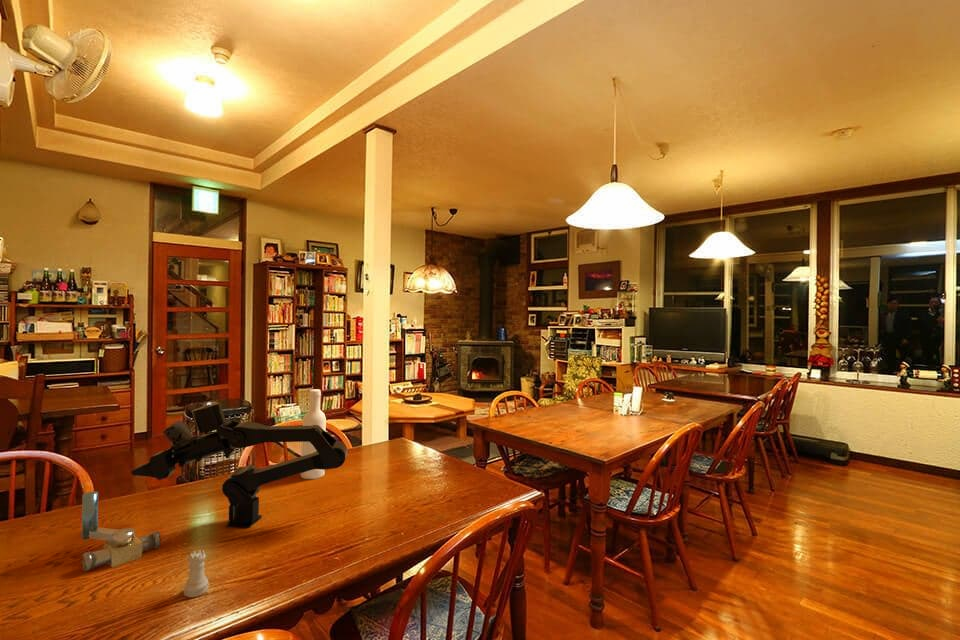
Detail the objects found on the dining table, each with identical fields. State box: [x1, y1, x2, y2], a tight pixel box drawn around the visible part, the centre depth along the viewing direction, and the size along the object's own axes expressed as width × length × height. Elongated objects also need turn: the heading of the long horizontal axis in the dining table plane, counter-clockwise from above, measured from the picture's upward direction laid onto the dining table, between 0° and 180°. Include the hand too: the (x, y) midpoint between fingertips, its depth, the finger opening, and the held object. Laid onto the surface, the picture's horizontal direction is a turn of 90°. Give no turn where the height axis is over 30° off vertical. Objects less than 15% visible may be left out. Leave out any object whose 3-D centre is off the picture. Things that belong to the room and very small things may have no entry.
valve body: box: [81, 530, 162, 572], centre depth 104 cm, size 14×6×4 cm, turn 143°
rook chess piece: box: [183, 549, 210, 599], centre depth 93 cm, size 4×4×8 cm
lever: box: [81, 490, 135, 545], centre depth 105 cm, size 12×4×10 cm, turn 81°
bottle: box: [300, 388, 327, 480], centre depth 159 cm, size 8×8×30 cm
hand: (141, 466), depth 119 cm, fingers open, 9 cm apart
